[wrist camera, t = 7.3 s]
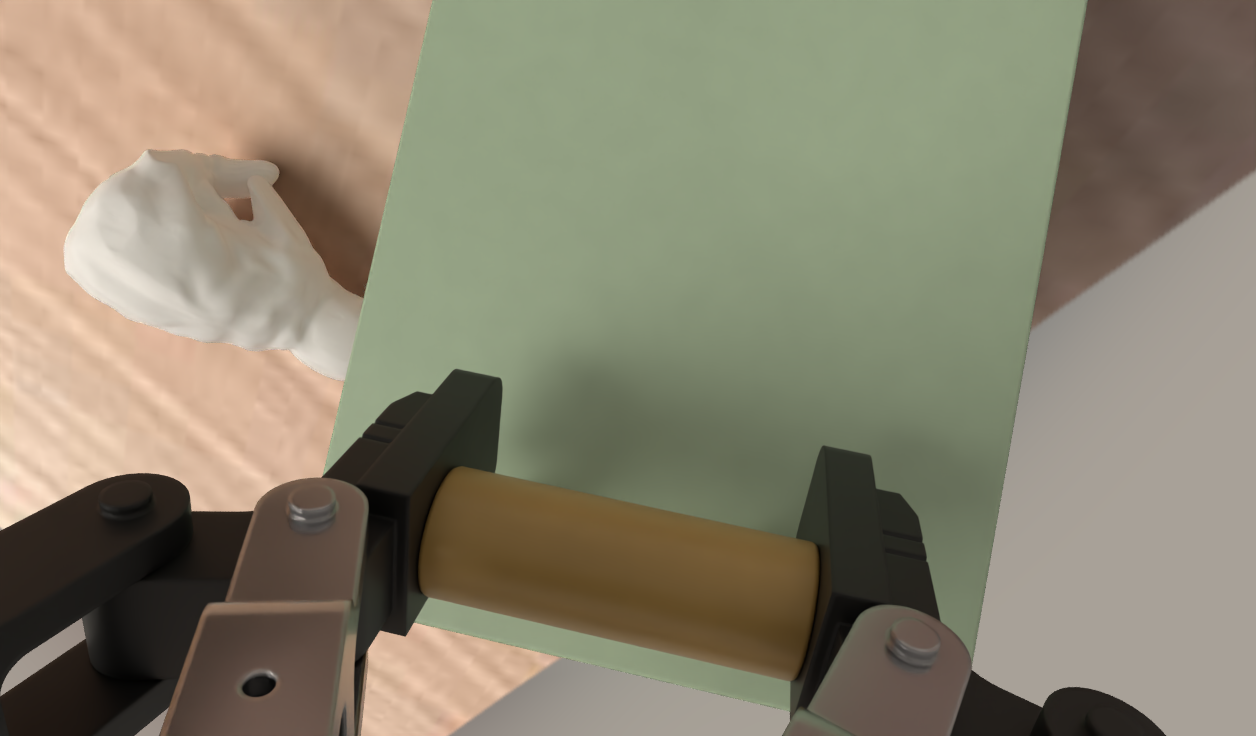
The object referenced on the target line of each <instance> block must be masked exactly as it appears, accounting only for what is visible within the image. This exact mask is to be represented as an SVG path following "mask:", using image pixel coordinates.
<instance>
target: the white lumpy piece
mask: <svg viewBox="0 0 1256 736" xmlns="http://www.w3.org/2000/svg"><path fill="white" fill-rule="evenodd" d="M278 177H279V169H278V167H277V166H276V165H275V164H273V163H271V162H269V161H265V160H239V159H229V158H226V157H223V156H220V155H209V156H208V155H206V154H203V153H196V154H193V153H191V152H190V151H187V150H182V149H181V150H171V151H160V150H151V149H148V150H145V151H144V152H143V154H142V155H141V157H140V158H139V159H138V160H137V161H136V162H135V163H133V164H132V165H130V166H129V167H127V168H125V169H123V170H120V171H118V172H116V173H114V174H113V175H111V176H110V177H109V179H107V180H105V181H104V182H102V183H101V184H99V185H98V186H97V188H96V189H95V190H94V191H93V192H92V193H91V195H90V196H89V197H88V198H87V200H86V201H85V203H84V205H83V207H82V209H81V212H80V214H79V216H78V217H77V219H76V222H75V223H74V225H73V226H72V227H71V229H70V230H69V232H68V235H67V237H66V240H65V243H64V264H65V270H66V272H67V274H68V275H69V276H70V277H71V278H72V279H73V280H75V281H76V282H77V283H78V284H79V285H80V286H81V287H82V288H83V289H84V290H85V291H86V292H87V293H88V294H89V295H91V296H92V297H93V298H95V299H97V300H98V301H100V302H102V303H104V304H106V305H108V306H109V307H111V308H113V309H115V310H116V311H117V312H119V313H120V314H121V315H122V316H124V317H125V318H127V319H129V320H131V321H134V322H138V323H143V324H146V325H149V326H152V327H156V328H159V329H162V330H164V331H167V332H169V333H171V334H174V335H178V336H183V337H189V338H192V339H194V340H197V341H200V342H204V343H229V344H232V345H235V346H238V347H241V348H243V349H246V350H249V351H264V350H278V349H279V350H289V351H291V352H292V354H293V355H294V356H295V357H296V358H297V359H298V360H300V361H301V362H302V363H304V364H305V365H306V366H308V367H309V368H311V369H312V370H314V371H316V372H318V373H320V374H322V375H324V376H326V377H329V378H331V379H334V380H339V381H345V377H346V373H347V369H348V364H349V360H350V356H351V351H352V347H353V343H354V338H355V334H356V330H357V325H358V321H359V317H360V312H361V308H362V304H363V299H364V298H362V297H363V296H362V297H360V296H357V295H356V294H355V295H354V294H353V293H351V292H349V291H347V290H346V289H344V288H343V287H342V286H341V285H340V284H339V283H338V282H337V281H335V280H334V279H333V278H331V277H330V276H329V274H328V272H327V269H326V267H325V264H324V262H323V259H322V258H321V256H320V255H319V254H318V253H317V252H316V251H315V250H314V248H313V247H312V245H311V243H310V241H309V239H308V237H307V235H306V233H305V231H304V230H303V228H302V227H301V226H300V224H299V223H298V222H297V220H296V219H295V217H294V216H293V214H292V213H291V212H290V210H289V209H288V207H287V206H286V204H285V203H284V201H283V200H282V199H281V197H280V196H279V195H278V194H277V192H276V191H275V190H274V188H273V187H272V185H273V184H274V183H275V182H276V180H277V179H278ZM224 198H251V203H252V209H253V216H254V219H253V220H252V221H247V220H239V219H238V218H237V216H236V215H235V214H234V212H233V211H232V209H231V207H230V206H229V204H228V203H227V202H226V201H224V200H223V199H224ZM364 287H365V286H364ZM363 291H364V290H363ZM364 293H365V292H364Z"/></svg>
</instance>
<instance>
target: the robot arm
mask: <svg viewBox="0 0 1256 736" xmlns="http://www.w3.org/2000/svg"><path fill="white" fill-rule="evenodd" d="M502 393H503V386H502V380H501V378H499V377H494V376H490V375H485V374H480V373H475V372H470V371H465V370H461V369H454V370H453V371H452V372H451V373H450V374H449V375H448V377H447V378H446V379H445V380H444V381H443V382H442V384H441V385H440V386H439V387H438V388H437V389H436V391H435V392H434V393H433V394H428V393H424V392H419V391H416V392H414V393H412V394H410V395H408V396H405V397H403V398H401V399H399V400H397V401H395V402H392V403H391V404H390V405H389V406H388V407H387V408H386V409H385V410H384V411H383V412H382V413H381V414H380V415H379V417H378V418H377V419H376V420H375V423H372V424H371V425H370V426H369V427H368V428H367V429H366V430H365V432H364V433H363V435H362V438H361V437H359V438H358V439H357V440H356V441H355V442H354V443H353V444H352V445H351V447H350V448H349V449H348V450H347V451H346V452H345V453H344V454H343V455H342V456H341V457H340V458H339V459H338V460H337V461H336V463H335V464H334V465H333V466H332V467H331V468H330V469H329V470H328V471H327V472H326V473H325V474H324V475H323V476H322V478H306V479H299V480H295V481H291V482H288V483H285V484H282V485H280V486H278V487H275V488H274V489H272V490H270V491H269V492H267V493H266V494H265V495H264V496H263V497H261V499H260V500H259V501H258V502H257V504H256V506H255V509H254V511H247V512H206V511H191V503H190V495H189V491H188V490H187V488H186V487H185V486H184V485H183V484H182V483H181V482H179V481H177V480H176V479H174V478H171V477H168V476H164V475H159V474H149V473H137V474H126V475H120V476H115V477H111V478H107V479H104V480H101V481H98V482H95V483H93V484H91V485H89V486H87V487H85V488H83V489H81V490H79V491H77V492H75V493H73V494H71V495H69V496H67V497H65V498H63V499H61V500H59V501H58V502H56V503H54V504H52V505H50V506H48V507H46V508H44V509H42V510H40V511H38V512H36V513H34V514H32V515H30V516H28V517H27V518H25V519H23V520H21V521H19V522H17V523H15V524H13V525H11V526H9V527H7V528H5V529H3V530H1V531H0V691H1V687H2V684H3V681H4V679H5V678H6V676H7V674H8V672H9V671H10V670H11V668H12V667H13V666H14V665H15V664H16V663H17V661H19V660H20V659H21V658H22V657H23V656H25V655H26V654H27V653H29V652H30V651H32V650H33V649H35V648H36V647H38V646H39V645H41V644H42V643H44V642H45V641H47V640H48V639H50V638H52V637H53V636H55V635H56V634H58V633H59V632H61V631H62V630H64V629H65V628H67V627H68V626H70V625H72V624H73V623H75V622H76V621H78V620H79V619H81V618H82V620H83V626H84V631H85V636H86V639H85V640H83V641H82V642H80V643H79V644H77V645H76V646H74V647H73V648H71V649H70V650H68V651H67V652H65V653H64V654H62V655H61V656H60V657H58V658H57V659H55V660H54V661H52V662H51V663H49V664H48V665H46V666H45V667H43V668H42V669H40V670H39V671H37V672H36V673H35V674H33V675H31V676H30V677H28V678H27V679H26V680H24V681H23V682H21V683H20V684H18V685H17V686H15V687H14V688H12V689H11V690H9V691H8V692H6V693H5V694H3V695H2V696H0V736H134V735H136V734H137V733H138V732H139V731H140V730H142V729H143V728H144V727H145V726H147V725H148V724H149V723H150V722H151V721H153V720H154V719H155V718H156V717H157V716H159V715H160V714H161V713H162V712H164V711H165V710H166V709H167V708H168V707H169V709H168V712H167V715H166V717H165V720H164V723H163V726H162V729H161V732H160V735H159V736H361V728H362V718H363V709H364V699H365V689H366V680H367V670H368V648H369V647H370V645H371V644H372V642H373V640H374V639H375V637H376V636H377V634H378V632H379V631H380V630H381V631H385V632H389V633H393V634H397V635H401V636H405V637H406V635H407V633H408V632H409V630H410V628H411V626H412V625H413V623H414V621H415V620H416V618H417V616H418V615H419V613H420V611H421V609H422V608H423V606H424V604H425V603H426V601H427V599H428V598H429V597H427V596H426V595H424V594H423V593H422V592H421V590H420V587H419V581H418V561H419V552H420V546H421V540H422V535H423V531H424V527H425V524H426V520H427V517H428V514H429V511H430V508H431V505H432V503H433V500H434V498H435V495H436V493H437V491H438V489H439V487H440V485H441V484H442V482H443V480H444V479H445V477H446V476H447V474H448V473H449V472H450V471H451V470H452V469H454V468H456V467H460V466H464V467H468V468H473V469H478V470H482V471H487V472H491V473H495V471H496V465H497V455H498V443H499V431H500V418H501V406H502ZM796 538H797V539H801V540H806V541H810V542H813V543H815V544H816V545H817V547H818V551H819V557H820V577H819V589H818V598H817V605H816V612H815V618H814V623H813V628H812V633H811V638H810V642H809V646H808V650H807V654H806V657H805V660H804V663H803V666H802V668H801V671H800V673H799V674H798V676H797V678H796V679H795V680H793V681H790V722H789V724H788V726H787V728H786V729H785V731H784V733H783V735H782V736H1166V735H1165V734H1164V733H1163V732H1162V731H1161V729H1159V728H1158V727H1157V726H1156V725H1155V724H1154V723H1153V722H1152V721H1151V720H1150V719H1149V718H1147V717H1146V716H1145V715H1144V714H1142V713H1141V712H1139V711H1138V710H1137V709H1135V708H1134V707H1132V706H1130V705H1129V704H1127V703H1125V702H1123V701H1122V700H1119V699H1117V698H1115V697H1113V696H1111V695H1108V694H1105V693H1102V692H1099V691H1096V690H1092V689H1088V688H1080V687H1068V688H1062V689H1059V690H1057V691H1054V692H1053V693H1052V694H1051V695H1049V697H1048V698H1047V700H1046V701H1045V703H1044V706H1043V708H1042V707H1040V706H1038V705H1036V704H1034V703H1031V702H1029V701H1027V700H1025V699H1023V698H1021V697H1018V696H1016V695H1014V694H1012V693H1010V692H1008V691H1005V690H1003V689H1001V688H999V687H997V686H995V685H994V684H991V683H990V682H988V681H986V680H985V679H984V678H982V677H980V676H979V675H978V674H976V673H975V672H974V671H972V670H971V669H972V661H971V657H970V654H969V651H968V649H967V648H966V646H965V644H964V643H963V642H962V640H961V639H960V638H959V637H958V636H957V635H956V634H955V633H954V632H953V631H952V630H951V629H950V628H949V627H947V626H946V625H945V624H943V623H942V622H941V620H940V615H939V610H938V606H937V601H936V596H935V592H934V587H933V582H932V578H931V573H930V569H929V564H928V562H926V559H927V555H926V550H925V545H924V543H922V541H923V536H922V531H921V527H920V522H919V517H918V515H917V514H916V513H915V512H914V510H913V509H912V508H911V507H910V505H909V504H908V503H907V502H906V500H905V499H904V498H903V497H902V495H901V494H899V493H895V492H890V491H885V490H881V489H876V484H875V477H874V470H873V463H872V458H871V455H868V454H863V453H858V452H854V451H849V450H844V449H839V448H834V447H829V446H825V445H823V446H822V447H821V449H820V452H819V454H818V457H817V461H816V465H815V468H814V472H813V476H812V479H811V483H810V487H809V490H808V494H807V497H806V501H805V505H804V508H803V512H802V516H801V519H800V523H799V527H798V531H797V535H796Z"/></svg>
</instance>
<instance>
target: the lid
mask: <svg viewBox="0 0 1256 736" xmlns="http://www.w3.org/2000/svg"><path fill="white" fill-rule="evenodd" d="M1087 2H1088V0H433V1H432V5H431V10H430V14H429V18H428V23H427V27H426V31H425V36H424V40H423V44H422V48H421V53H420V57H419V61H418V66H417V70H416V74H415V79H414V83H413V87H412V92H411V96H410V100H409V105H408V109H407V113H406V118H405V122H404V126H403V131H402V135H401V139H400V144H399V148H398V152H397V157H396V161H395V165H394V170H393V174H392V178H391V183H390V187H389V191H388V196H387V200H386V204H385V209H384V213H383V217H382V222H381V226H380V230H379V235H378V239H377V243H376V248H375V252H374V256H373V261H372V265H371V269H370V274H369V278H368V282H367V286H366V291H365V295H364V299H363V304H362V308H361V312H360V317H359V321H358V325H357V330H356V334H355V338H354V343H353V347H352V351H351V356H350V360H349V364H348V369H347V373H346V377H345V382H344V386H343V390H342V395H341V399H340V403H339V408H338V412H337V416H336V421H335V425H334V429H333V434H332V438H331V442H330V447H329V451H328V455H327V460H326V464H325V468H324V473H323V475H324V474H325V473H326V472H327V471H328V470H329V469H330V468H331V467H332V466H333V465H334V464H335V463H336V461H337V460H338V459H339V458H340V457H341V456H342V455H343V454H344V453H345V452H346V451H347V450H348V449H349V448H350V447H351V445H352V444H353V443H354V442H355V441H356V440H357V439H358V438H359V437H361V438H362V435H363V433H364V432H365V430H366V429H367V428H368V427H369V426H370V425H371V424H372V423H375V420H376V419H377V418H378V417H379V415H380V414H381V413H382V412H383V411H384V410H385V409H386V408H387V407H388V406H389V405H390V404H391V403H392V402H395V401H397V400H399V399H401V398H403V397H405V396H408V395H410V394H412V393H414V392H416V391H419V392H424V393H428V394H433V393H434V392H435V391H436V389H437V388H438V387H439V386H440V385H441V384H442V382H443V381H444V380H445V379H446V378H447V377H448V375H449V374H450V373H451V372H452V371H453V370H454V369H461V370H465V371H470V372H475V373H480V374H485V375H490V376H494V377H499V378H501V380H502V386H503V393H502V406H501V418H500V431H499V443H498V455H497V465H496V471H495V473H491V472H487V471H482V470H478V469H473V468H468V467H464V466H460V467H456V468H454V469H452V470H451V471H450V472H449V473H448V474H447V476H446V477H445V479H444V480H443V482H442V484H441V485H440V487H439V489H438V491H437V493H436V495H435V498H434V500H433V503H432V505H431V508H430V511H429V514H428V517H427V520H426V524H425V527H424V531H423V535H422V540H421V546H420V552H419V561H418V581H419V587H420V590H421V592H422V593H423V594H424V595H426V596H427V597H429V598H428V599H427V601H426V603H425V604H424V606H423V608H422V609H421V611H420V613H419V615H418V616H417V618H416V620H415V621H414V623H419V624H423V625H427V626H431V627H435V628H440V629H444V630H448V631H452V632H456V633H461V634H465V635H469V636H473V637H478V638H482V639H486V640H490V641H494V642H499V643H503V644H507V645H511V646H515V647H520V648H524V649H528V650H532V651H537V652H541V653H545V654H549V655H553V656H558V657H562V658H566V659H570V660H574V661H579V662H583V663H587V664H592V665H596V666H600V667H604V668H608V669H612V670H617V671H621V672H625V673H629V674H633V675H638V676H642V677H646V678H650V679H655V680H659V681H663V682H667V683H672V684H676V685H680V686H684V687H688V688H693V689H697V690H701V691H705V692H709V693H714V694H718V695H722V696H726V697H730V698H735V699H739V700H743V701H748V702H752V703H756V704H760V705H764V706H769V707H773V708H777V709H781V710H786V711H789V712H790V681H793V680H795V679H796V678H797V676H798V674H799V673H800V671H801V668H802V666H803V663H804V660H805V657H806V654H807V650H808V646H809V642H810V638H811V633H812V628H813V623H814V618H815V612H816V605H817V598H818V589H819V577H820V557H819V551H818V547H817V545H816V544H815V543H813V542H810V541H806V540H801V539H797V538H796V535H797V531H798V527H799V523H800V519H801V516H802V512H803V508H804V505H805V501H806V497H807V494H808V490H809V487H810V483H811V479H812V476H813V472H814V468H815V465H816V461H817V457H818V454H819V452H820V449H821V447H822V446H823V445H825V446H829V447H834V448H839V449H844V450H849V451H854V452H858V453H863V454H868V455H871V458H872V463H873V470H874V477H875V484H876V489H881V490H885V491H890V492H895V493H899V494H901V495H902V497H903V498H904V499H905V500H906V502H907V503H908V504H909V505H910V507H911V508H912V509H913V510H914V512H915V513H916V514H917V515H918V517H919V522H920V527H921V531H922V536H923V541H922V543H924V545H925V550H926V555H927V559H926V562H928V564H929V569H930V573H931V578H932V582H933V587H934V592H935V596H936V601H937V606H938V610H939V615H940V620H941V622H942V623H943V624H945V625H946V626H947V627H949V628H950V629H951V630H952V631H953V632H954V633H955V634H956V635H957V636H958V637H959V638H960V639H961V640H962V642H963V643H964V644H965V646H966V648H967V649H968V651H969V654H970V657H971V661H973V656H974V650H975V645H976V639H977V633H978V627H979V622H980V616H981V611H982V604H983V598H984V593H985V588H986V581H987V576H988V570H989V565H990V558H991V552H992V547H993V542H994V536H995V530H996V524H997V518H998V513H999V507H1000V501H1001V496H1002V490H1003V484H1004V478H1005V473H1006V466H1007V461H1008V456H1009V450H1010V444H1011V438H1012V432H1013V427H1014V421H1015V415H1016V409H1017V404H1018V398H1019V392H1020V387H1021V381H1022V375H1023V369H1024V364H1025V358H1026V352H1027V346H1028V341H1029V335H1030V329H1031V323H1032V318H1033V312H1034V306H1035V301H1036V295H1037V289H1038V283H1039V278H1040V272H1041V266H1042V260H1043V255H1044V249H1045V243H1046V237H1047V232H1048V226H1049V220H1050V214H1051V209H1052V203H1053V197H1054V191H1055V186H1056V180H1057V174H1058V168H1059V163H1060V157H1061V151H1062V146H1063V140H1064V134H1065V128H1066V123H1067V117H1068V111H1069V105H1070V100H1071V94H1072V88H1073V82H1074V77H1075V71H1076V65H1077V59H1078V54H1079V48H1080V42H1081V36H1082V31H1083V25H1084V19H1085V13H1086V8H1087Z"/></svg>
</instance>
